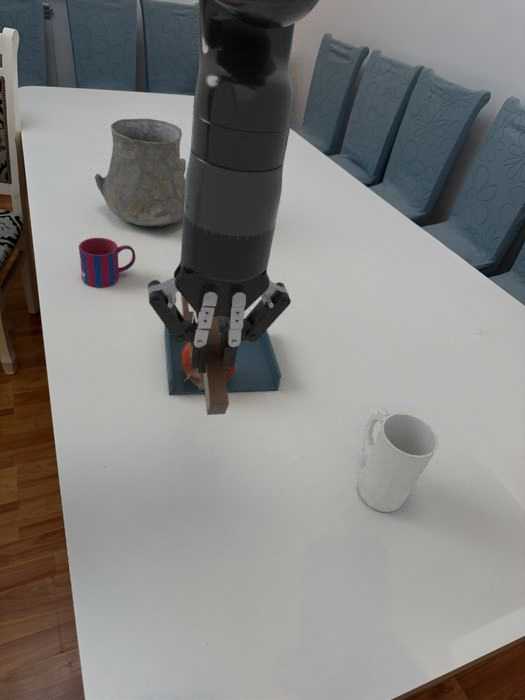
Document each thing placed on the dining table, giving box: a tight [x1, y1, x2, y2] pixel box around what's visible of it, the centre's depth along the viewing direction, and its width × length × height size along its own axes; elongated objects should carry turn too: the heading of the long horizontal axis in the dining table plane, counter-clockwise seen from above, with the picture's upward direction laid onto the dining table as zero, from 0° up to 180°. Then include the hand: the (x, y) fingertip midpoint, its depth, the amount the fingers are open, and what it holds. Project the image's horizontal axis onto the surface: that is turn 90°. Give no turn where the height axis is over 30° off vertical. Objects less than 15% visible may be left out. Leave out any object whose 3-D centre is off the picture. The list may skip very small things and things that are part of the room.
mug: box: [357, 406, 439, 513], centre depth 64 cm, size 10×7×12 cm, turn 23°
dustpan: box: [163, 317, 282, 396], centre depth 84 cm, size 24×17×3 cm
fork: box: [180, 294, 230, 416], centre depth 52 cm, size 16×5×2 cm, turn 12°
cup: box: [78, 237, 136, 288], centre depth 93 cm, size 7×10×7 cm
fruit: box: [182, 342, 235, 391], centre depth 75 cm, size 8×8×8 cm
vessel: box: [94, 117, 187, 227], centre depth 110 cm, size 22×22×20 cm
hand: (211, 367), depth 51 cm, fingers closed on fork, 2 cm apart
